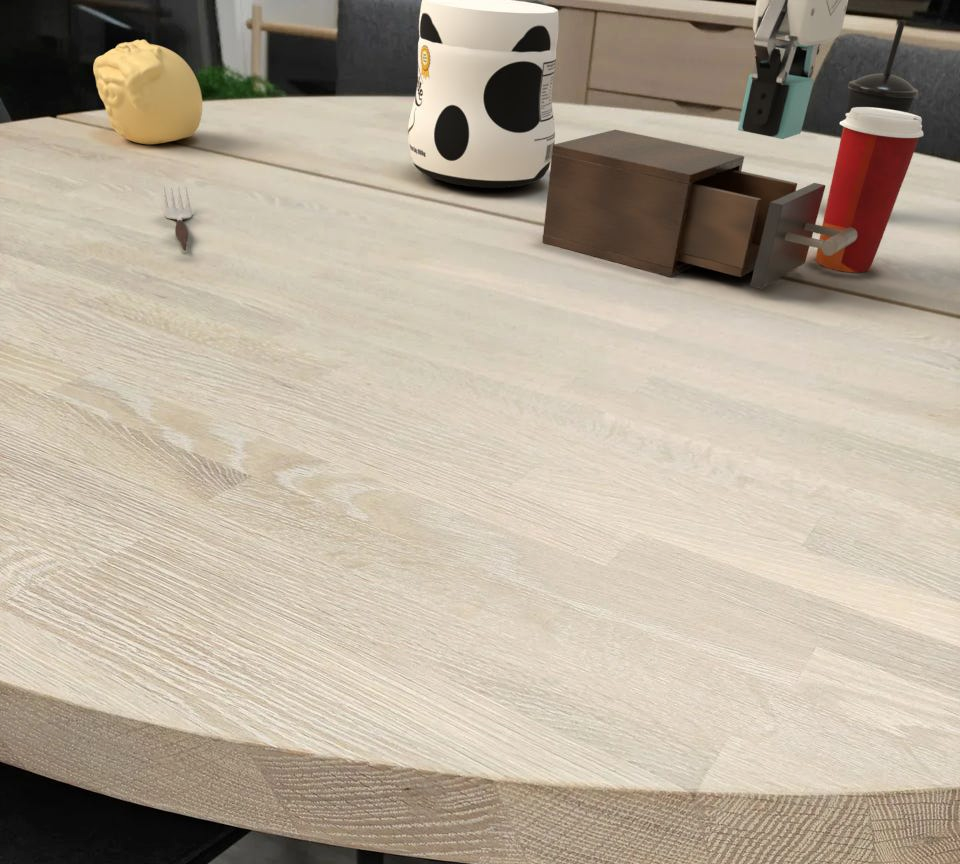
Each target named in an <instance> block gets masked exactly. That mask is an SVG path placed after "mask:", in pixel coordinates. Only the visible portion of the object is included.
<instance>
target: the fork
mask: <svg viewBox="0 0 960 864" xmlns="http://www.w3.org/2000/svg"><path fill="white" fill-rule="evenodd" d="M162 188H163V202H164V203H163V205H164V207H163V208H164V217H165V218H167V219H169V220H176V223H175V228H174V229H175V231H174V232H175V236H176V237H177V239H178V241H179V243H180V246H181V248H182V250H183V251H187V247H188V246H187V245H188V239H189V231H188V228H187V225H186V224H185V223H184V221H183V220H189V219H192V216H193V213H192V208H191V203H190V199H189V194H188V189H187V186H185V187H184V189H185V204H186V206H185V207H184V205H183V200H182V195H181V190H180V186H178V188H177V190H178V191H177V192H178V208H177V207H176V206H177V205H176V203H175V197H174V191H173V187H172V186H170V197H171V198H170V199H171V208H169V207H170V206H169V203H168V198H167V194H166V188H165V186H163V187H162Z"/></svg>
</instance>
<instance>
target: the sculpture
mask: <svg viewBox="0 0 960 864" xmlns="http://www.w3.org/2000/svg"><path fill="white" fill-rule="evenodd" d="M92 67H93V69H92V70H93V76H94V78H95V84H96V89H97V91H98V96H99V98H100V99H101V101H102V102H103V105H104V108H105V112H106V115H108V121H109V124H110V126H111V128H112V129H114V130H115V131H116V132H117V133H118V134H119V135H121V136H122V137H123V138H125V139H126V140H128V141H131V142H134V143H137V144H143V145H159V144H165V143H171V142H174V141H179V140H183V139H187V138H189V137H192V136H193V135H194V134H195V133H196V132H197V131H198V128H199V126H200V123H201V120H202V117H203V95H202V90H201V87H200V84H199V81H198V79H197V76H196V75H195V73H194V71H193V70H192V68H191V66H190V65H189V64H188V63H187V62H186V60H185V59H184V58H182V57H181V56H180V55H179V54H177V53H176V52H174V51H173V50H171V49H169V48H167V47H165V46H161V45H158V44H152V43H149V42H148V41H147V39H141V40H140V39H136V40H133V41H130V42H126V41H125V42H121V43H118V44H117V45H116V46H115V48H112V49H110V50H108V51H107V52H105V53H104V54H102V55H99V56H97V57H96V58H95V59H94V62H93V66H92Z"/></svg>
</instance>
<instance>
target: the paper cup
mask: <svg viewBox="0 0 960 864" xmlns="http://www.w3.org/2000/svg"><path fill="white" fill-rule="evenodd" d="M845 113H846V112H845ZM846 116H847V117H846V119H845V118H844V119H845V120H844V119H843V120H841V121H840V122H839V125H840V126H842V129H843V132H842V131H841V135H842V136H840V140H841V141H840V140H839V146H838V151H837V155H836V160H835V165H834V169H833V174H832V179H831V183H830V187H829V193H828V196H827V201H826V205H825V206H826V207H825V210H824V214H823V215H824V216H823V220H822V225H821V226H824V227H829V228H833V229H837V230H842V231H843V230H845V229H847V228H849V227H851V228H854V229H855V230H856V231H857V239H856V240H855V241H854V242H853V243H851V244H849V245H848V246H846V247H845V248H843V249H841V250H840V251H838V252H836V253H835V254H833V255H831V256H826V255H824V254H823V252H822V250H821V249H820V248H816V254H815V255H816V256H815V262H816V263H817V264H818V265H820V266H822V267H825V268H827V269H830V270H833V271H834V270H835V271H837V272H846V273H864V272H869V271H870V269H871V267H872V266H873V263H874V260H875V258H876V255H877V253H878V250H879V247H880V245H881V242H882V239H883V236H884V234H885V232H886V228H887V226H888V223H889V220H890V218H891V215H892V212H893V210H894V207H895V204H896V202H897V198H898V196H899V193H900V191H901V188H902V185H903V183H904V180H905V177H906V175H907V173H908V170H909V167H910V164H911V162H912V159H913V156H914V153H915V150H916V147H917V145H918V142H919V140H920V138H922V137H924V135H925V134H924V131H923V129H922V128H923V125H922V123H923V121H922V120H923V119H922V117H921V116H919V115H916V114H913V113H910V112H908V113H906V112H902V111H896V110H890V109H883V108H872V107H855V108H852V109H851V111H850V113H846ZM843 126H844V127H843ZM831 237H832V236H827V235H823V234H819V240H823V241H826V240H827V239H829V238H831Z"/></svg>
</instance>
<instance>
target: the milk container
mask: <svg viewBox="0 0 960 864" xmlns="http://www.w3.org/2000/svg"><path fill="white" fill-rule="evenodd" d="M420 3H421V4H420V10H419V11H420V12H419V18H418V31H419V32H418V34H419V38H418V43H417V83H416V90H415V96H414V99H413V102H412V107H411V111H410V115H409V119H408V127H407V140H408V141H407V142H408V149H409V156H410V159H411V161H412V164H413V165H414V167H415V168H416V169H417V170H418V171H420V172H421V173H423V174H425V175H426V176H428V177H431V178H432V179H435V180H438V181H441V182H445V183H448V184H451V185H459V186H464V187H471V188H480V189H508V188H515V187H516V188H517V187H523V186H526V185H530V184H533V183H536V182H538V181H539V180H541V179H542V178H543V177H544V176H545V175H546V174H547V172H548V170H549V168H550V166H551V159H552V154H553V153H552V149H553V145H554V144H556V128H555V120H554V119H555V118H554V112H553V85H554V84H553V83H554V77H555V70H556V69H555V68H556V61H557V45H558V41H559V33H560V32H559V29H560V28H559V25H560V24H559V23H560V22H559V20H560V16H559V10H558V8H556V7H552V6H549V5H545V4H539V3H534V2H529V1H523V0H421V2H420Z"/></svg>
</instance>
